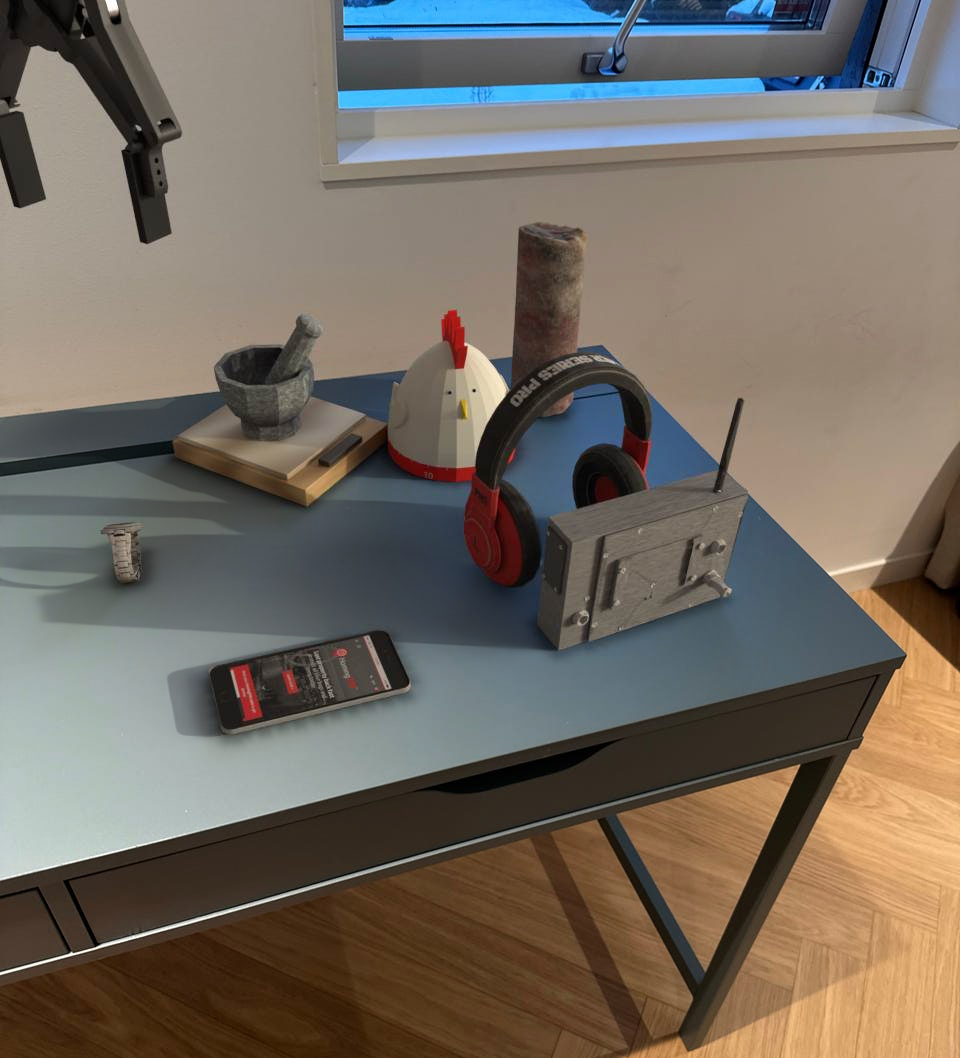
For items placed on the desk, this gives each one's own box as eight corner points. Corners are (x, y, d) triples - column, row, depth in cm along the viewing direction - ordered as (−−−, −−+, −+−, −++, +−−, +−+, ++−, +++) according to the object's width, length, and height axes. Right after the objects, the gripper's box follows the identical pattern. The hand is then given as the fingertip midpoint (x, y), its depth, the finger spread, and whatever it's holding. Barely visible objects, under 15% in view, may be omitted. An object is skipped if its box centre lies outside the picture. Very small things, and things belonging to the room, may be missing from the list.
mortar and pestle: (220, 451, 95) (200, 339, 87) (227, 405, 102) (209, 297, 94) (331, 448, 96) (322, 337, 88) (331, 402, 103) (323, 295, 95)
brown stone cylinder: (495, 399, 110) (504, 224, 97) (539, 380, 114) (553, 209, 100) (541, 425, 106) (558, 246, 93) (585, 404, 110) (607, 230, 96)
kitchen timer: (399, 487, 96) (396, 350, 86) (378, 419, 106) (373, 289, 96) (529, 474, 99) (541, 339, 89) (497, 409, 109) (504, 281, 98)
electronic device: (693, 571, 88) (742, 376, 74) (738, 615, 84) (800, 416, 70) (532, 624, 82) (553, 420, 68) (572, 674, 77) (603, 468, 64)
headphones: (503, 618, 82) (518, 414, 68) (446, 556, 88) (449, 358, 74) (658, 558, 89) (700, 363, 75) (595, 505, 95) (623, 315, 82)
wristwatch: (151, 549, 87) (140, 504, 84) (148, 591, 83) (136, 546, 79) (112, 552, 87) (99, 508, 83) (107, 595, 82) (93, 550, 79)
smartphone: (206, 667, 75) (386, 627, 79) (208, 673, 76) (387, 633, 80) (222, 732, 70) (413, 686, 74) (223, 738, 71) (413, 692, 75)
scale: (175, 457, 99) (170, 436, 97) (265, 398, 108) (262, 377, 107) (307, 507, 93) (304, 485, 91) (388, 439, 103) (388, 418, 101)
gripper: (200, -107, 59) (245, 238, 73) (-72, -139, 67) (17, 177, 81) (112, -98, 54) (179, 270, 68) (-170, -134, 62) (-56, 202, 77)
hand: (91, 220), depth 75 cm, fingers open, 13 cm apart
